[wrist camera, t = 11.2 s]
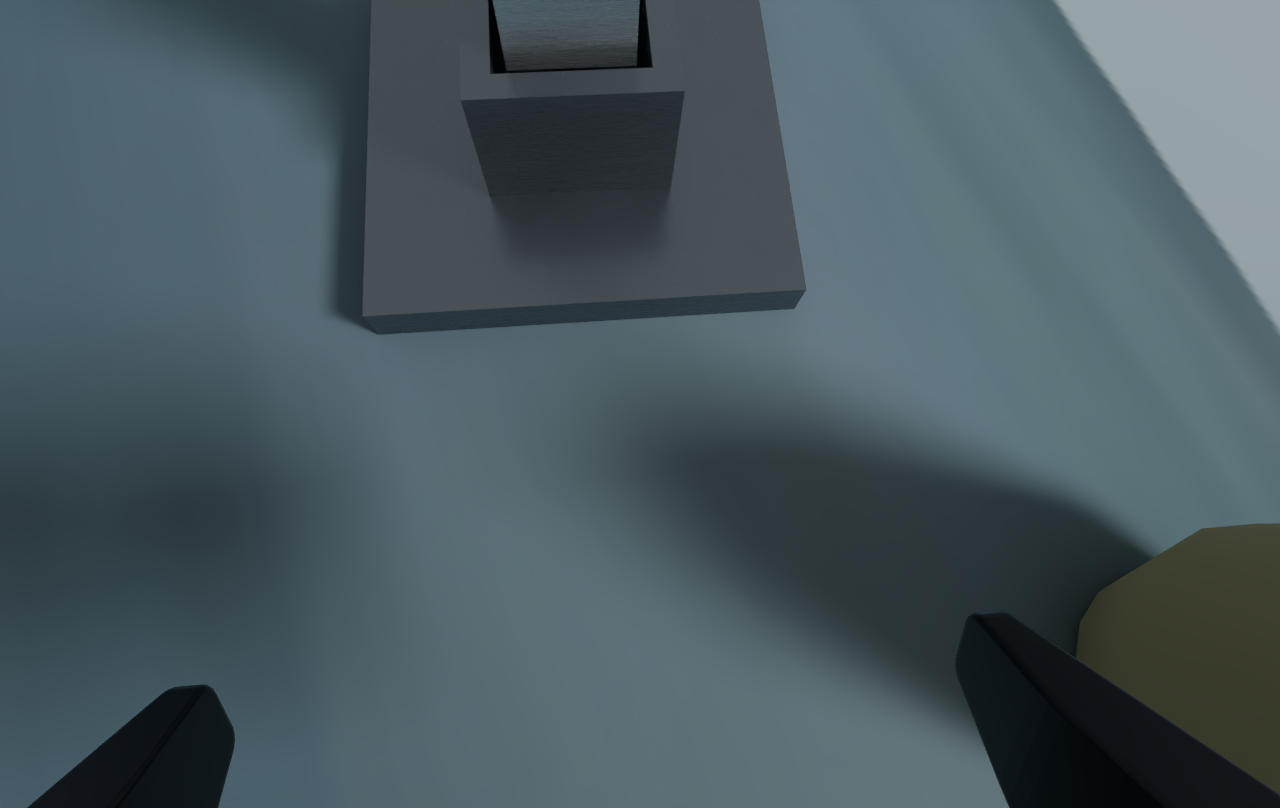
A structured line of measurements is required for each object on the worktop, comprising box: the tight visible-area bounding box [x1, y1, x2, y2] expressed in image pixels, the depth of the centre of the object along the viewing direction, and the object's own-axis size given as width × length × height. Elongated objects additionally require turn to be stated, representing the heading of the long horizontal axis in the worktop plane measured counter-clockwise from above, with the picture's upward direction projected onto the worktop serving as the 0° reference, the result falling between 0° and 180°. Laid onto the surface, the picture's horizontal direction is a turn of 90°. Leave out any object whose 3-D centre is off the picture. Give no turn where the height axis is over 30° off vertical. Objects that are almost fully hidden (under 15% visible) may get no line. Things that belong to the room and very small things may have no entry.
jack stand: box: [362, 0, 806, 334], centre depth 22 cm, size 14×14×6 cm
